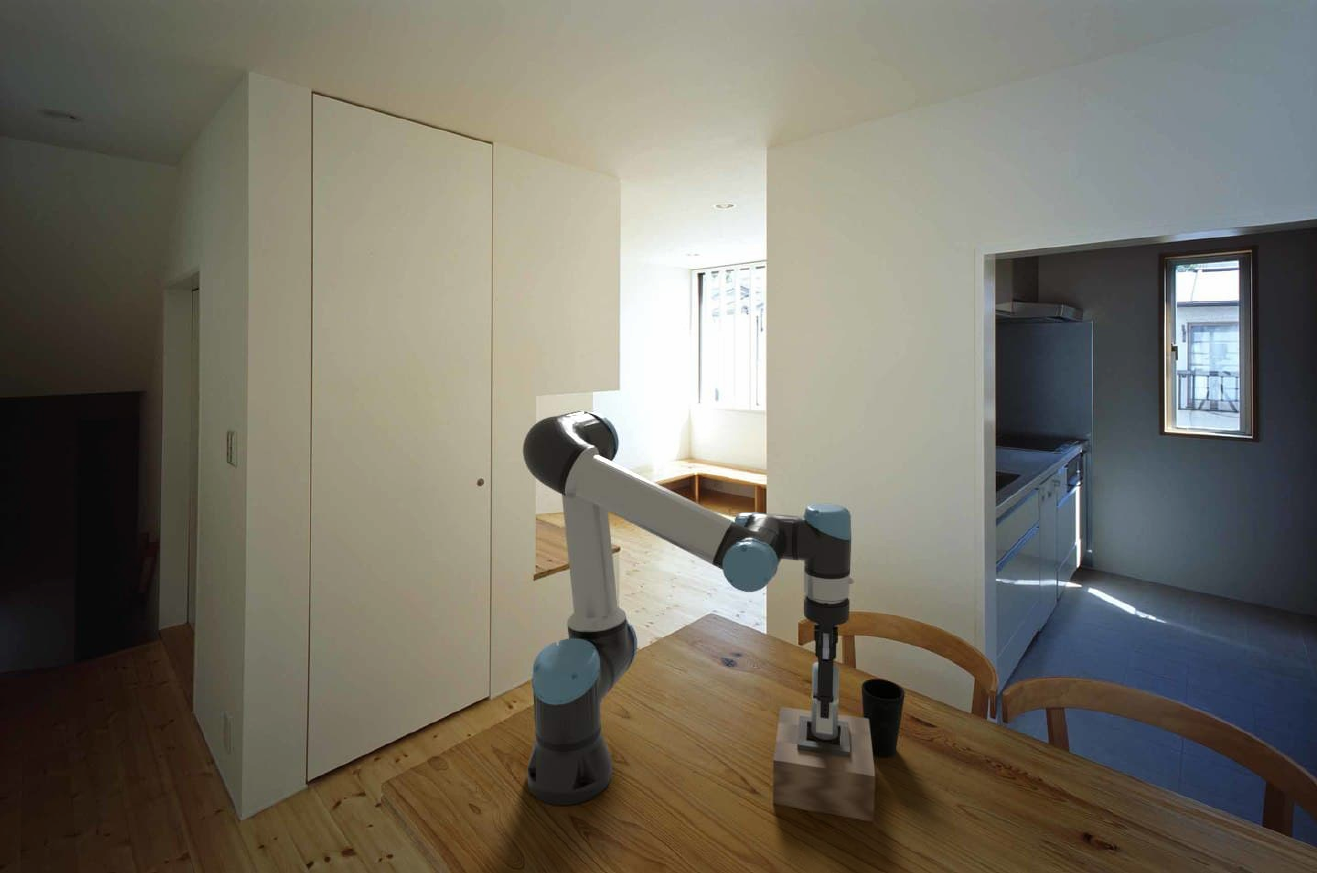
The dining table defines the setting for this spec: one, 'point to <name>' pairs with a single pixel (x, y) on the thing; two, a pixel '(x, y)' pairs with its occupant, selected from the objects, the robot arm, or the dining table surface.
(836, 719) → the peg
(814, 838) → the dining table surface
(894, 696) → the cup
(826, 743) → the grey square plate
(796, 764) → the socket block
